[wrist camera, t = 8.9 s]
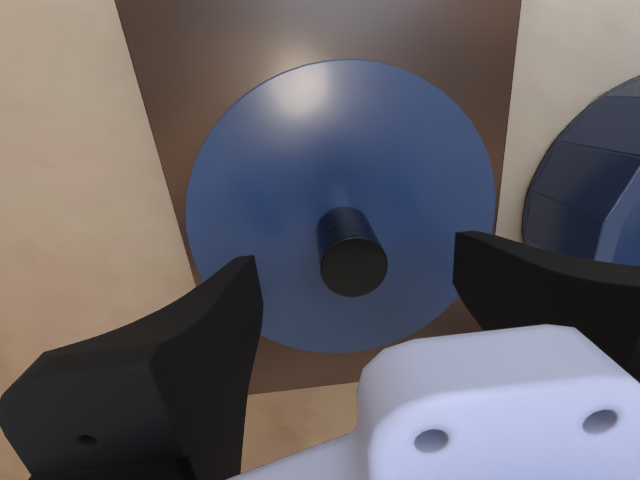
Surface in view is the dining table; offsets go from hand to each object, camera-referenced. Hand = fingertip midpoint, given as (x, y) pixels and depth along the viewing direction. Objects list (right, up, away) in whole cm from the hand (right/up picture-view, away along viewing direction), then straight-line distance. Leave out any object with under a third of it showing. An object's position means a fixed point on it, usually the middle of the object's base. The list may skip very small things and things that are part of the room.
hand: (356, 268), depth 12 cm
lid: (0, +2, +3) cm, 4 cm away
